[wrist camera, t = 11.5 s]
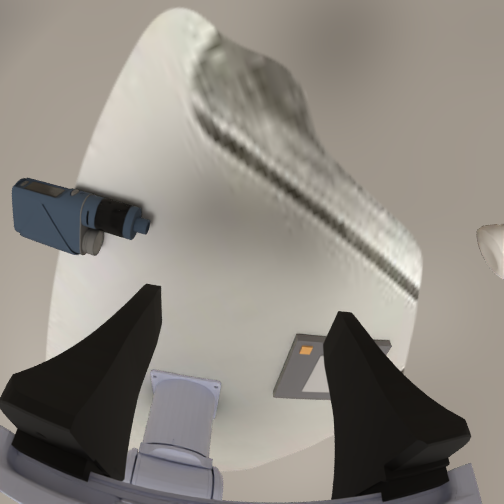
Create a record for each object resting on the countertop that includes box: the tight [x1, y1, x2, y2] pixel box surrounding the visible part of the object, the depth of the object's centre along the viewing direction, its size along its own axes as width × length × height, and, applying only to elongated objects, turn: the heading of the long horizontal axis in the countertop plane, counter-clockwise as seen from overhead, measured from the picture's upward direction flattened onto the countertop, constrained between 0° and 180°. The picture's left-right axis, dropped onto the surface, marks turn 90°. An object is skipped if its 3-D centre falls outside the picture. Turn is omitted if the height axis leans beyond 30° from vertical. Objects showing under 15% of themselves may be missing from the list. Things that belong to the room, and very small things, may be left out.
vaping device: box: [12, 178, 150, 256], centre depth 20 cm, size 3×5×12 cm
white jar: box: [477, 224, 504, 280], centre depth 19 cm, size 5×3×5 cm, turn 38°
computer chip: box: [273, 334, 392, 400], centre depth 29 cm, size 10×10×1 cm
